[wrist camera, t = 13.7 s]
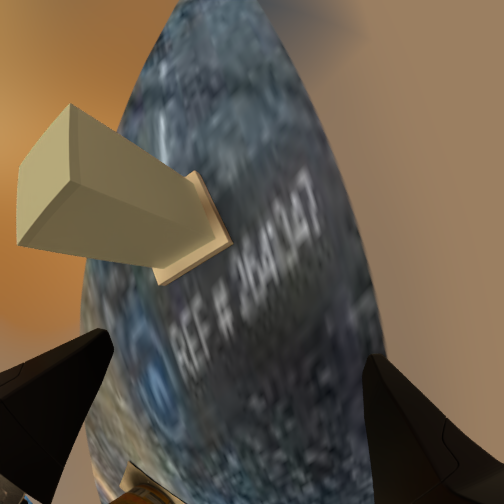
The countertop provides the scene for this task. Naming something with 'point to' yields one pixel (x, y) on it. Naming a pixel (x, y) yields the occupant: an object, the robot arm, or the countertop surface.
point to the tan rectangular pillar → (105, 198)
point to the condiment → (142, 489)
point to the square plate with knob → (205, 251)
